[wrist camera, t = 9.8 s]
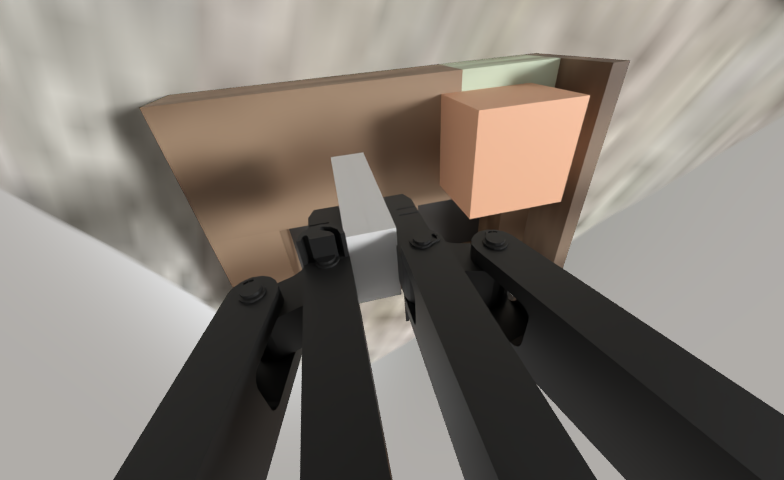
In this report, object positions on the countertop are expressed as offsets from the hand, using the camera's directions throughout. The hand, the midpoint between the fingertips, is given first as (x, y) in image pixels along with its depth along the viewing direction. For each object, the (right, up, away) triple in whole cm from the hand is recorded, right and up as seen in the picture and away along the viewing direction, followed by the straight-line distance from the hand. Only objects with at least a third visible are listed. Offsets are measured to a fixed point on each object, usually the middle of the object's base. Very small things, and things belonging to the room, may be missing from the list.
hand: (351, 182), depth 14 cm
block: (+8, +4, +6) cm, 11 cm away
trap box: (+1, +2, +10) cm, 11 cm away
